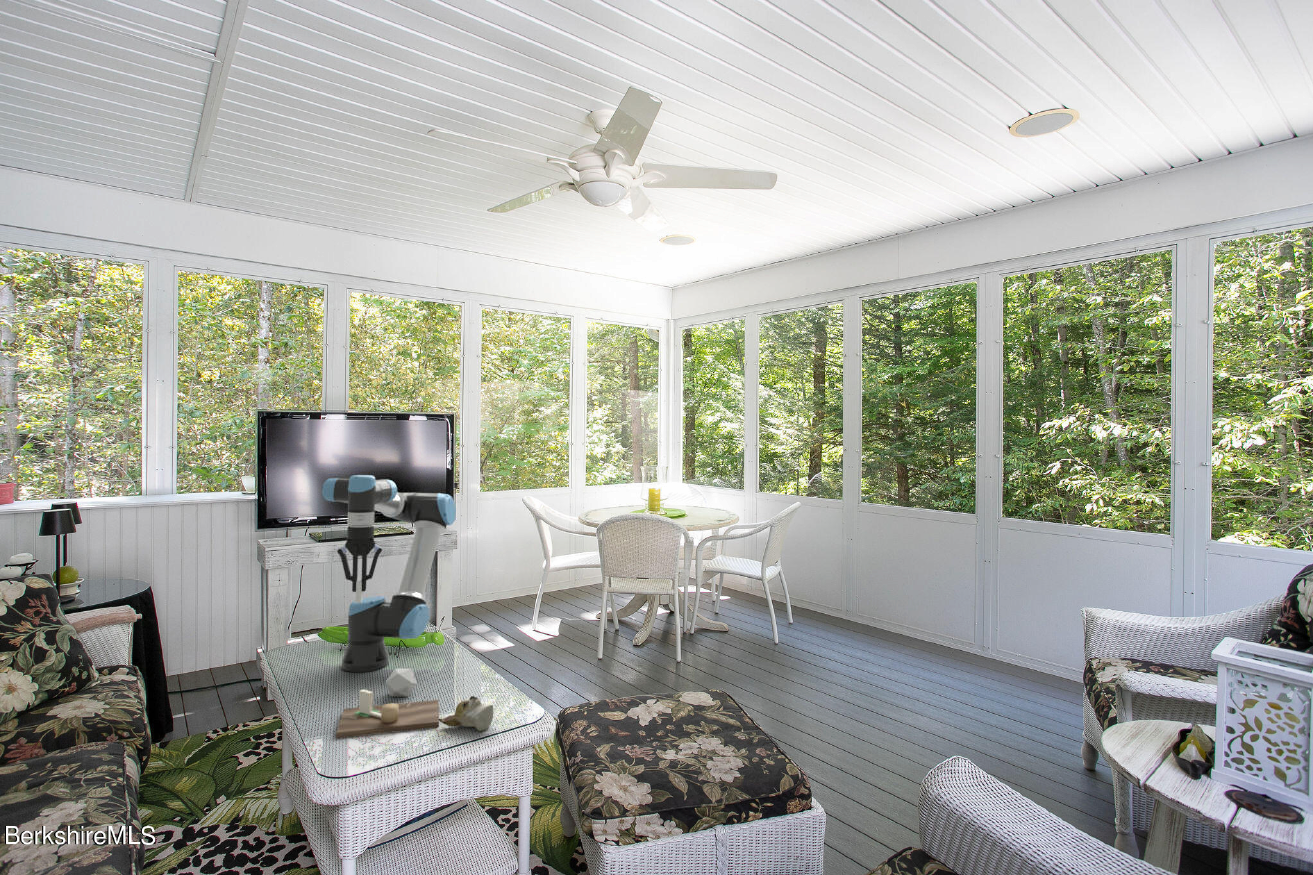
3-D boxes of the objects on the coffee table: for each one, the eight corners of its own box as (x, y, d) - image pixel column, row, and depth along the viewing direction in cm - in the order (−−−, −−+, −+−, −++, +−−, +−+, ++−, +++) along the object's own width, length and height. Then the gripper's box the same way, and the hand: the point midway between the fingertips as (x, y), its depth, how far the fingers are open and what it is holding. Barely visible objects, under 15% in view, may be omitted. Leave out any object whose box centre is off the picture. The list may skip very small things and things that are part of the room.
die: (397, 704, 200) (418, 676, 203) (375, 688, 202) (396, 660, 205) (406, 704, 208) (426, 676, 211) (385, 688, 210) (405, 661, 213)
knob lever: (354, 713, 187) (354, 692, 187) (367, 708, 191) (367, 687, 191) (389, 724, 181) (389, 702, 181) (401, 718, 185) (402, 696, 185)
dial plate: (343, 713, 191) (344, 708, 191) (438, 704, 200) (438, 699, 200) (336, 738, 176) (336, 732, 176) (438, 726, 184) (438, 721, 184)
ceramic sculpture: (480, 706, 178) (436, 699, 184) (480, 738, 178) (436, 730, 184) (504, 693, 188) (462, 687, 194) (504, 723, 188) (462, 716, 193)
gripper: (335, 527, 198) (333, 606, 198) (382, 526, 202) (380, 603, 202) (339, 524, 205) (337, 600, 205) (384, 523, 209) (382, 598, 209)
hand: (358, 602), depth 203 cm, fingers closed
